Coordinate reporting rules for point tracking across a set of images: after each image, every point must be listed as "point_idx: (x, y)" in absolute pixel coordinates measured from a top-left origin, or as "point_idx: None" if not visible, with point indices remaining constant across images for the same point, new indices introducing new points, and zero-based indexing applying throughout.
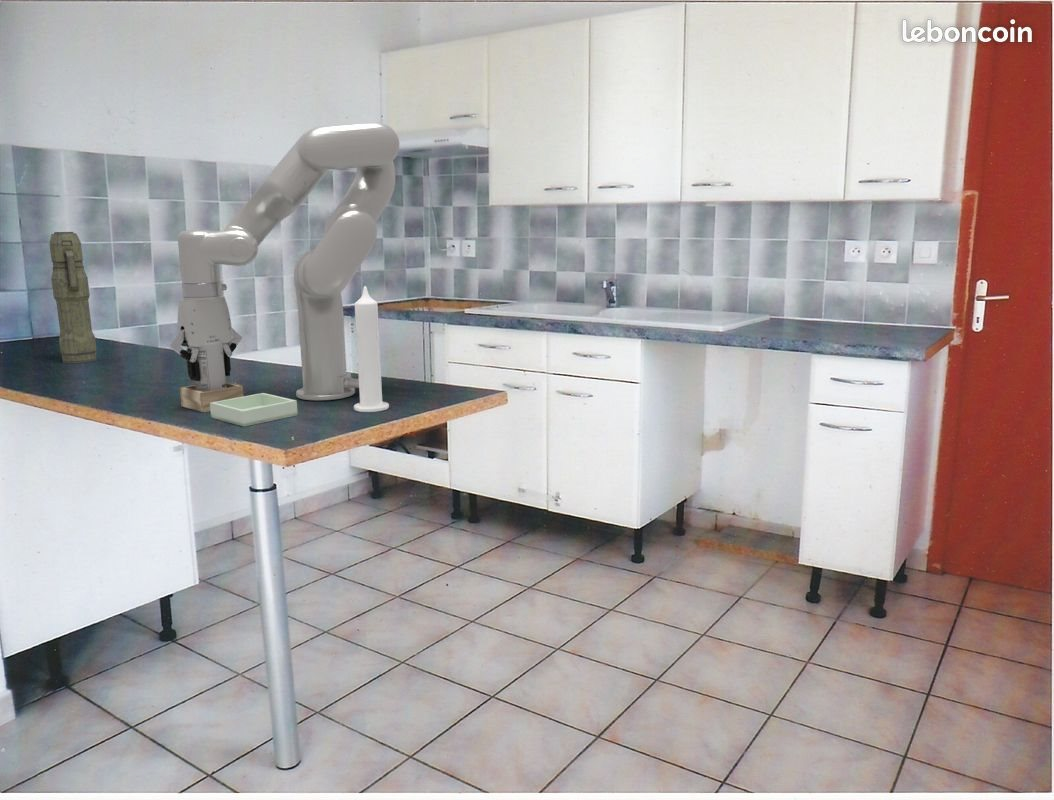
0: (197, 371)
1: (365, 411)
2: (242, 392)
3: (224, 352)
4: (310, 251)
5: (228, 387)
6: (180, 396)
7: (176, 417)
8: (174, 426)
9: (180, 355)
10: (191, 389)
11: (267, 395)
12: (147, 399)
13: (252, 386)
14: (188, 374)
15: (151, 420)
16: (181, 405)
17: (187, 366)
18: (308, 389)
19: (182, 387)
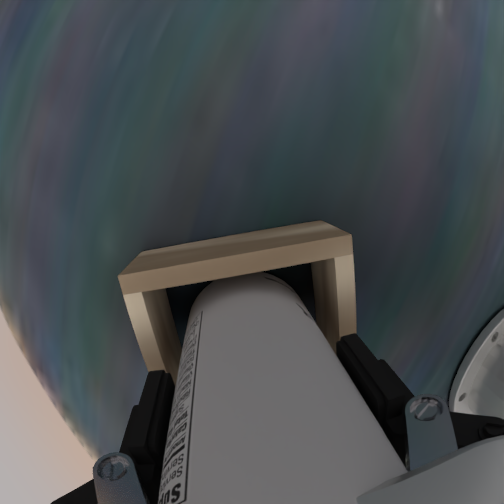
0: None
1: None
2: None
3: (405, 460)
4: None
5: (334, 336)
6: (130, 263)
7: (101, 397)
8: (94, 460)
9: (68, 501)
10: (157, 359)
11: None
12: (90, 32)
13: (468, 92)
14: (134, 410)
15: (41, 380)
16: (140, 253)
17: (123, 441)
18: (475, 399)
19: (130, 282)
